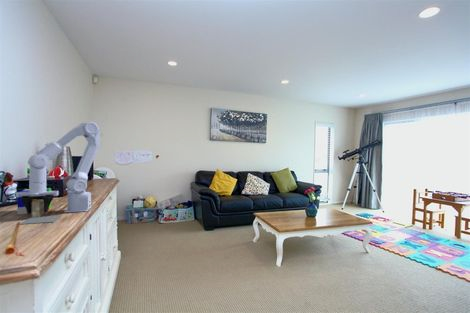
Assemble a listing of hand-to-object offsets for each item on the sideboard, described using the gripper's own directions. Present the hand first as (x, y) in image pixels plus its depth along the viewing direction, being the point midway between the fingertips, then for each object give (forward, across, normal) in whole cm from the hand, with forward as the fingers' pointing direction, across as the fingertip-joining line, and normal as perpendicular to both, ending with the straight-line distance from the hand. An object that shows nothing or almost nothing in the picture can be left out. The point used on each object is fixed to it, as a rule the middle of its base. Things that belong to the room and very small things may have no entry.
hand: (37, 212), depth 101 cm
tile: (+2, 0, 0) cm, 2 cm away
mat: (+2, +4, -7) cm, 8 cm away
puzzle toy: (+2, -6, +12) cm, 13 cm away
